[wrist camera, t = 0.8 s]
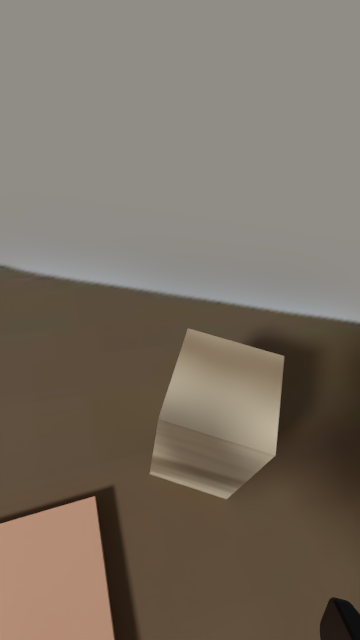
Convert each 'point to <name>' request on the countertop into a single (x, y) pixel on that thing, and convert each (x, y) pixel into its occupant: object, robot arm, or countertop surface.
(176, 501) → the countertop surface
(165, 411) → the birch block
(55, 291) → the countertop surface
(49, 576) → the terracotta tile
